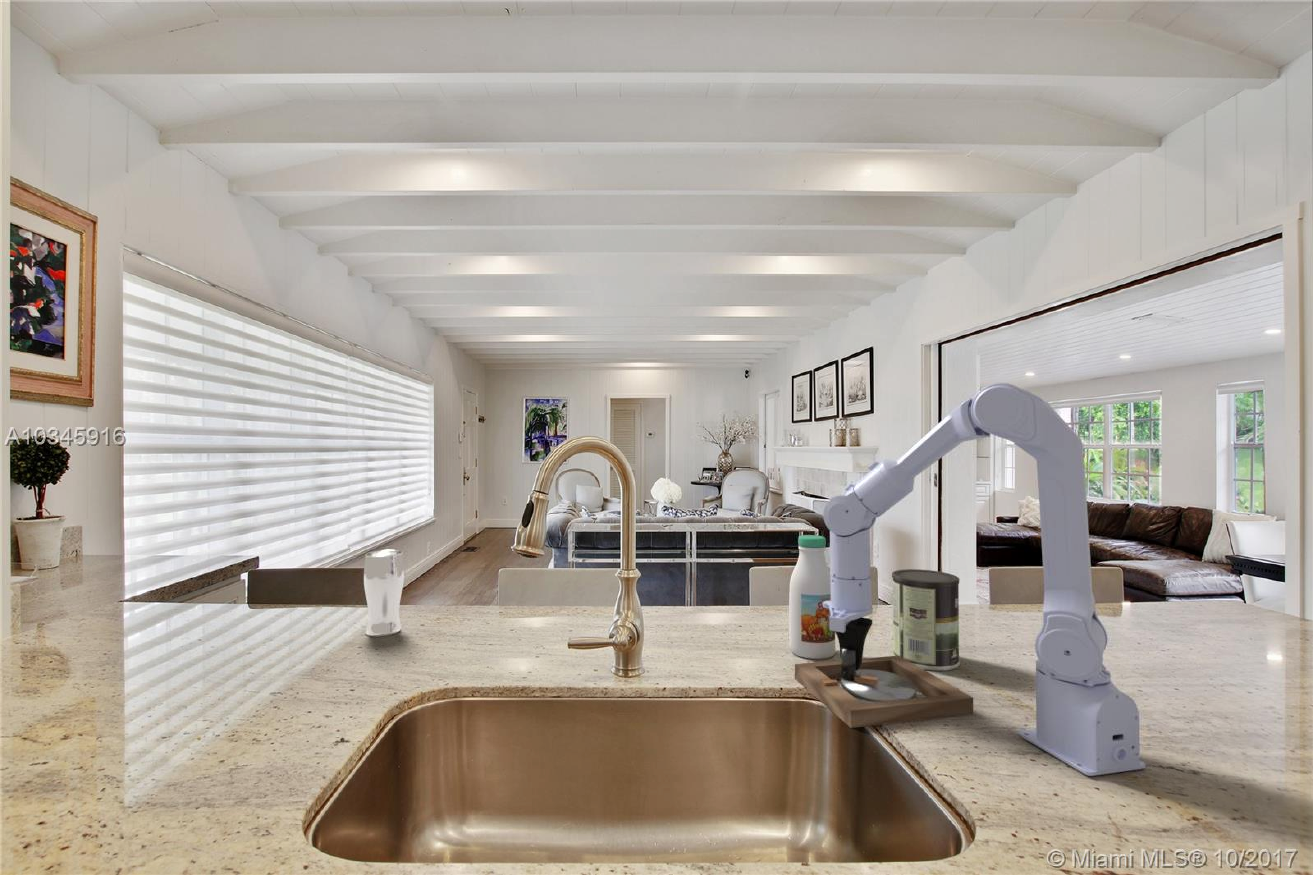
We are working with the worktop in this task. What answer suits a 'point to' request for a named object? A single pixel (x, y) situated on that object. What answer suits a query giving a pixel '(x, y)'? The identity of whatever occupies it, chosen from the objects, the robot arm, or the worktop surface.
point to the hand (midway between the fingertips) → (851, 667)
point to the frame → (936, 704)
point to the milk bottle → (810, 602)
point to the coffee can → (926, 618)
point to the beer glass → (383, 591)
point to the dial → (872, 681)
